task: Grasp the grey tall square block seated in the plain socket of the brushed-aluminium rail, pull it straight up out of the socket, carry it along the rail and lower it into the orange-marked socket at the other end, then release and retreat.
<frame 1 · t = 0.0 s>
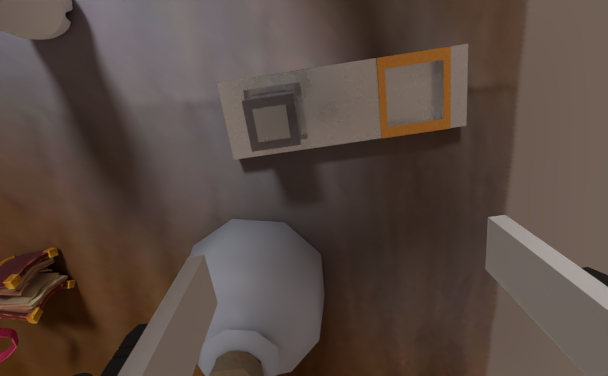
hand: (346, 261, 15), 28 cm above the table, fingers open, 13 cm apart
bottle: (257, 275, 49), on the table
grey tall square block: (277, 113, 40), point 1 cm above the table, touching rail
water bottle: (49, 6, 36), on the table
rail: (342, 102, 40), on the table
book monster: (45, 280, 48), on the table
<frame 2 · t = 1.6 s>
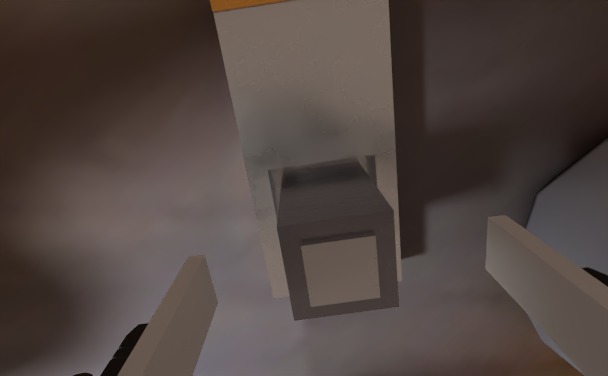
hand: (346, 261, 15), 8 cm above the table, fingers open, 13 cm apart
grey tall square block: (325, 201, 22), point 1 cm above the table, touching rail
rail: (308, 78, 20), on the table
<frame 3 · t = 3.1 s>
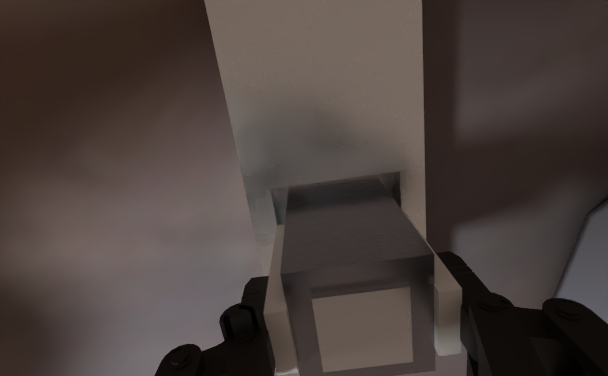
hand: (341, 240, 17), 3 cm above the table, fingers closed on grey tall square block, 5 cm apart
grey tall square block: (337, 224, 19), point 1 cm above the table, touching gripper, rail
rail: (319, 79, 17), on the table
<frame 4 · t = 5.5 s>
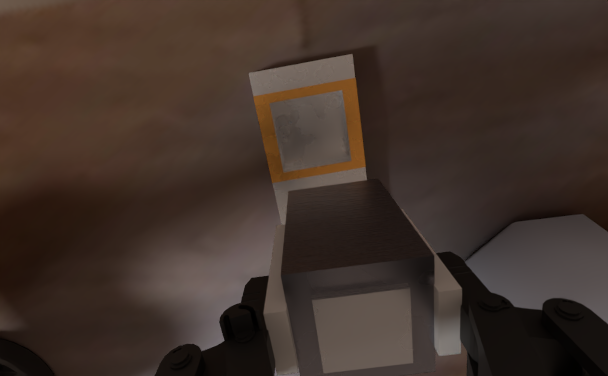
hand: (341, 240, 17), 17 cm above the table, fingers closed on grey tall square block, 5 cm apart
bottle: (531, 284, 39), on the table
grey tall square block: (337, 225, 19), point 15 cm above the table, touching gripper
rail: (323, 202, 35), on the table
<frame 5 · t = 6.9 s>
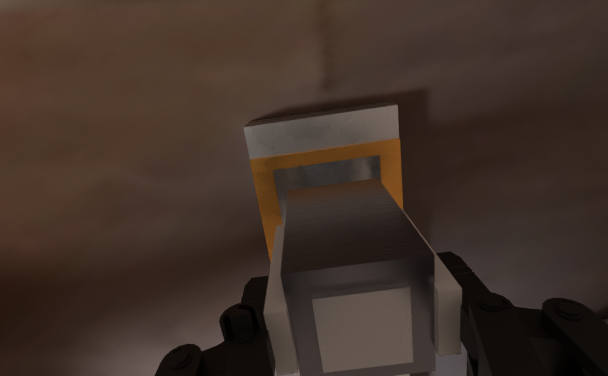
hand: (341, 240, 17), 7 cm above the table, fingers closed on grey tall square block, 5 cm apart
grey tall square block: (337, 224, 19), point 5 cm above the table, touching gripper
rail: (340, 290, 26), on the table
when the fingers open (4 cm above the table, at t = 8.1 s): grey tall square block stays where it is, resting on rail.
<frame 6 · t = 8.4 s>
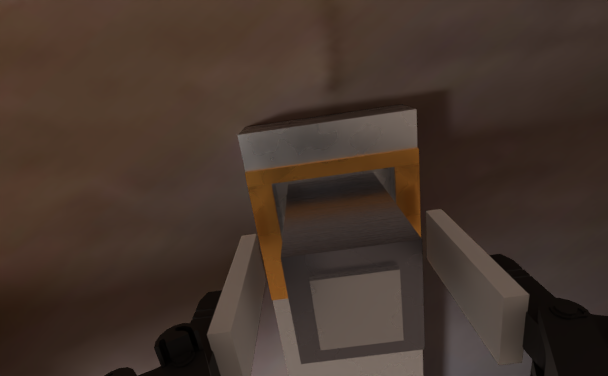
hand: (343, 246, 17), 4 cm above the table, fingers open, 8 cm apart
grey tall square block: (335, 217, 20), point 1 cm above the table, touching rail
rail: (346, 313, 23), on the table
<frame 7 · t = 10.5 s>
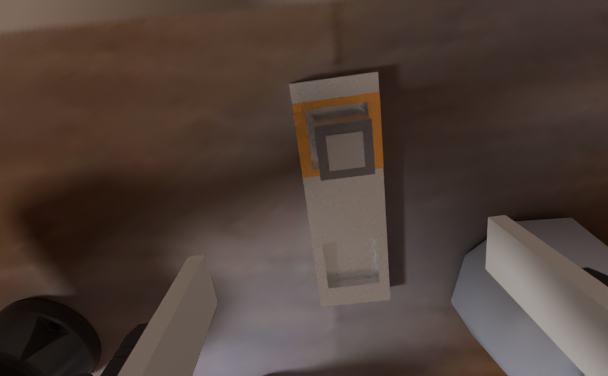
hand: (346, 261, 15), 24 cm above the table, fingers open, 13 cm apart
bottle: (523, 278, 44), on the table
grey tall square block: (337, 133, 37), point 1 cm above the table, touching rail
rail: (343, 197, 40), on the table
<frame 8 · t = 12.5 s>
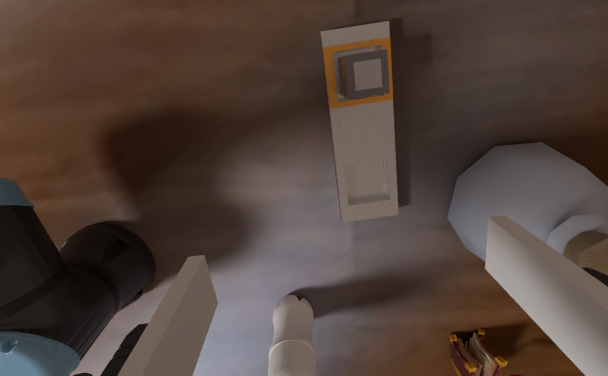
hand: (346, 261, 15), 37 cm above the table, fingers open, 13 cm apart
bottle: (505, 198, 54), on the table
grey tall square block: (356, 74, 47), point 1 cm above the table, touching rail
water bottle: (293, 305, 61), on the table
rail: (360, 129, 50), on the table
book monster: (475, 345, 65), on the table
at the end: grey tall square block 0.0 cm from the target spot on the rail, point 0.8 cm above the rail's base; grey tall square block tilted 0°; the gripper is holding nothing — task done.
